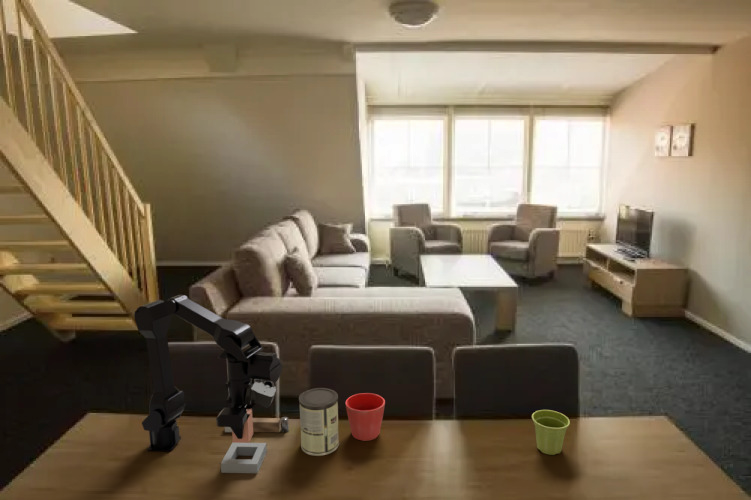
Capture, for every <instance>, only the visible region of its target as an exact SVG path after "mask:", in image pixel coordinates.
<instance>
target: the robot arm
mask: <svg viewBox="0 0 751 500" xmlns="http://www.w3.org/2000/svg"><path fill="white" fill-rule="evenodd" d="M172 315H174V316H177V317H178V318H180V319H182V320H184V321H185V322H187V323H189V324H191V325H192V326H194V327H195V328H197V329H198V330H199V329H200V330H201V331H203V332H204V333H206V334H208V335H210V336H211V337H212V338H213V339H214V342H215V344H216V345H217V346H218V347H219V348H220V349H222V350H223V351H222V352H221V353H220V354H219V355H218V359H221V360H226V371H227V381H226V382H225V383H224V384H225V389H227V388H228V396H227V398H226V400H225V401H226V404H231V405H230V407H223V409H222V410H221V411H220V412H219V413H218V415H217V417H216V426H217V428H225V427H230V428H231V429H232V431H233V432H234V434H235V435H236V437H237V438H238V439H242V438H243V431H244V423H245V422H246V421H247V419H248V418H249V416H250V414H247V411H246V410H247V409H252V410H253V408H254V407H255V406H256V405H260V406H262V407H263V408H270V407H271V404H272V402H273V401H274V398H275V395H276V392H277V386H275V383H276V382H278V380H279V378H280V376H281V375H282V367H283V365H282V362H281V360H280V358H278V357H277V353H276V352H264V351H263V350H264V347H263V345H262V344H261V342H260V341H259V339H258V338H257V336H256V335H255V333H254V332H253V328H252V326H250V325H249V324H248V323H244V322H242V321H238V320H234V319H226V318H225V317H222V316H221V315H217V314H216V313H214V312H213V311H210V310H209V309H208V308H205V307H203V306H202V305H200V304H198V303H197V302H195V301H192V300H191V299H189V297H188V296H187V295H185V294H178V295H175V296H172V297H170V298H168V299H167V300H163V299H157V300H153V301H152V302H149V303H146V304H144V305H141V306H139V307H137V308H136V309H135V311H134V314H133V317H134V321H135V324H136V328H137V331H138V332H139V333H140V334H141V335H142V336H143V337H144V338H145V341H146V347H147V353H148V360H149V366H150V373H151V379H152V386H153V392H152V395H151V398H150V401H149V414H148V415H147V416H146V418H144V420H142V422H141V425H142V428H143V430H144V431H147V432H148V434H149V444H150V445H149V446H148V447H147V451H148V452H150V451H151V452H171V451H172V450H173V449H174V448H175V446H176V445H177V444H178V443H179V442H180V440H181V438H182V436H181V435H180V426H178V423H177V419H179V418H181V415H182V413H183V412H184V410H185V408H186V405H187V402H186V399H185V392H184V390H180V389H178V388H177V386H175V381H174V375H173V368H172V362H171V356H170V348H169V340H168V331H169V329H170V327H171V323H172ZM248 346H250V347H249V348H247V347H248ZM245 348H247V349H246V350H243V349H245Z"/></svg>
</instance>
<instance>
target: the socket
mask: <svg viewBox="0 0 751 500" xmlns="http://www.w3.org/2000/svg"><path fill="white" fill-rule="evenodd" d="M267 445H268V444H267V442H249V443H234V442H232V443H231V445H230V446H229V448H228V450H227V451H226V454H225V455H224V457H223V459H222V461H221V462H220V472H221V474H222V473H223V474H225V473H226V474H259V471H260V469H261V466H262V464H263V463H264V462H263V461H264V459H265V456H266V455H267V452H268V450H267V448H268V447H267ZM238 456H249V457H251V456H252V458H251V459H250V458H249V459H244V458H243V459H242V458H241V459H239V458H237V457H238Z"/></svg>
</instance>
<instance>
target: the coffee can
mask: <svg viewBox="0 0 751 500" xmlns="http://www.w3.org/2000/svg"><path fill="white" fill-rule="evenodd" d="M338 400H339V395H338V392H336V391H335V390H333V389H331V388H326V387H316V388H311V389H308V390H305V391H303V392H302V393H300V394H299V397H298V403H299V422H300V447H301V451H302V452H304V453H305V454H307V455H309V456H313V457H314V456H316V457H321V456H325V455H326V456H327V455H330V454H331V453H334V452H335V451H336V450H337V449H338V447H339V445H340V442H339V404H338V403H339V402H338Z"/></svg>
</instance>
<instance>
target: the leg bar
mask: <svg viewBox="0 0 751 500" xmlns="http://www.w3.org/2000/svg"><path fill="white" fill-rule="evenodd" d="M252 418H253V433H279V432H280V431H281V420H280V419H281V418H280V417H275V418H272V417H271V418H270V417H268V418H267V417H252Z"/></svg>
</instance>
